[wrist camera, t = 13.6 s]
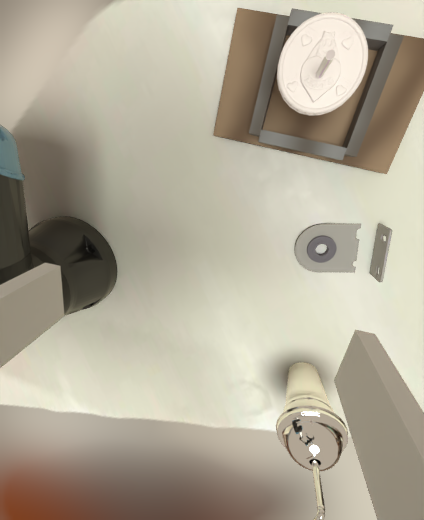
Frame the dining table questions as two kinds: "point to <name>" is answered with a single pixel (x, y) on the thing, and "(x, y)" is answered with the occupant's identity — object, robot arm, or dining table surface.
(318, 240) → the grey arched plates
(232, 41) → the keeper board
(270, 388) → the dining table surface
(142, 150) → the dining table surface
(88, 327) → the dining table surface
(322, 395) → the domed lid cup
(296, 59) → the smoothie
